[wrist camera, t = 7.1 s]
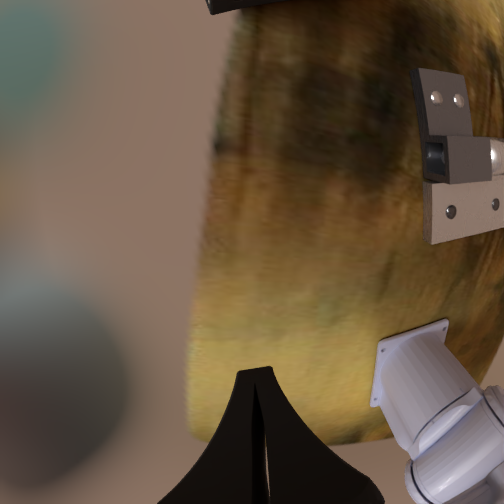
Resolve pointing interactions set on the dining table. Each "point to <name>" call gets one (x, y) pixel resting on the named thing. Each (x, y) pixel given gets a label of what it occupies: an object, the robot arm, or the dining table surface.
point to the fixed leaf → (465, 203)
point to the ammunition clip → (234, 4)
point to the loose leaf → (448, 129)
